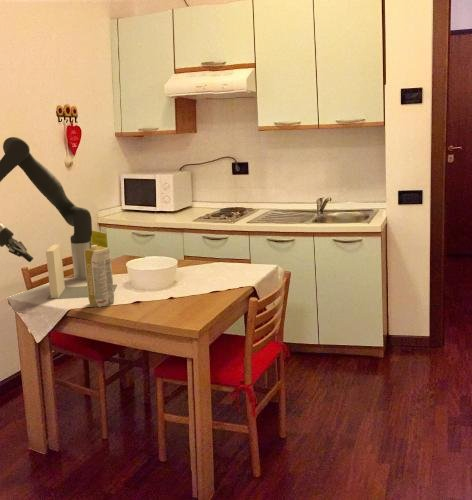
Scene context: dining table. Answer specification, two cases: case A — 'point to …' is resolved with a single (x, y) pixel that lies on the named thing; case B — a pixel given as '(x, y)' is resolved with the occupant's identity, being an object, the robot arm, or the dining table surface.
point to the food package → (99, 239)
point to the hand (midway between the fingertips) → (31, 260)
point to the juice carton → (99, 275)
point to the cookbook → (55, 270)
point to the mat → (74, 292)
